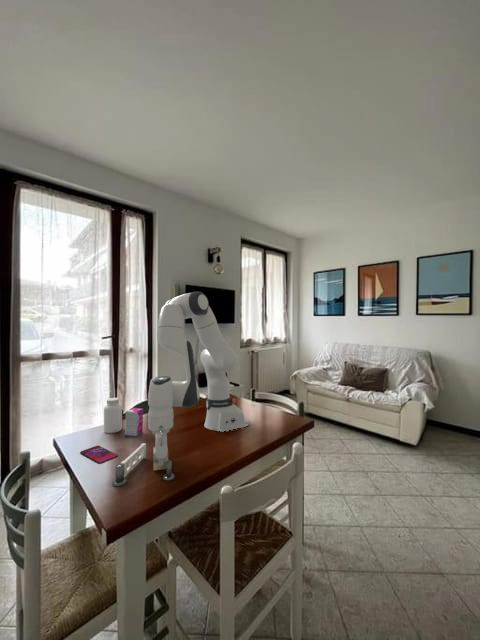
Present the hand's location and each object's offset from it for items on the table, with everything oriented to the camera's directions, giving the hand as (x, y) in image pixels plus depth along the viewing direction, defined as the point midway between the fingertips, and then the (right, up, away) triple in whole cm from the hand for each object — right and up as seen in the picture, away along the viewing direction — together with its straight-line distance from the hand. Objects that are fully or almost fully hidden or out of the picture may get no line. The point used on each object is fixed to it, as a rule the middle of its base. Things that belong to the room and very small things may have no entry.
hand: (160, 460), depth 102 cm
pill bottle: (-32, -2, +33) cm, 46 cm away
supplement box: (-20, -2, +28) cm, 35 cm away
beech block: (0, -2, 0) cm, 2 cm away
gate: (-9, -1, -1) cm, 9 cm away
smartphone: (-27, -3, +9) cm, 28 cm away
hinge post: (-10, -2, -10) cm, 15 cm away
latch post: (+5, -2, -8) cm, 9 cm away
